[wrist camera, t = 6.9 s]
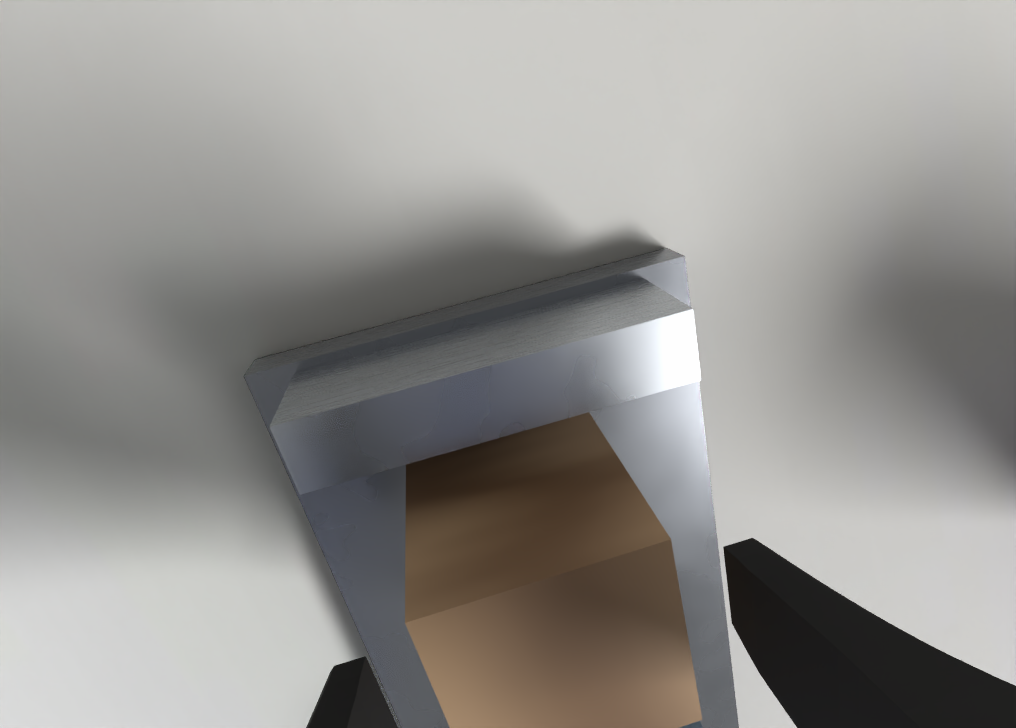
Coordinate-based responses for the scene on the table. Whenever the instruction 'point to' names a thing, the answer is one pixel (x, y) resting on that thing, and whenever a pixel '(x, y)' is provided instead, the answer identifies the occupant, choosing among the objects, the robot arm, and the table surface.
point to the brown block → (544, 587)
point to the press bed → (494, 414)
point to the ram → (693, 725)
